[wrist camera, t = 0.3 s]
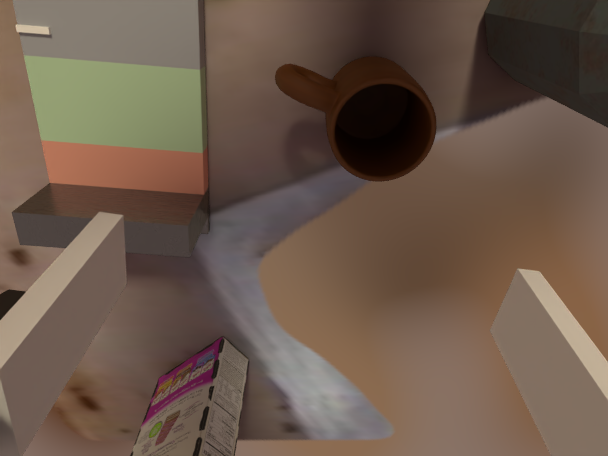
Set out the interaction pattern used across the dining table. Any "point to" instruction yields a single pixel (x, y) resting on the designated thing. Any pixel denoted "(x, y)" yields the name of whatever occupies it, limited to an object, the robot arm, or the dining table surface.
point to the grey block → (128, 202)
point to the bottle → (554, 49)
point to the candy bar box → (196, 406)
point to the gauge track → (119, 91)
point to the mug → (368, 115)
